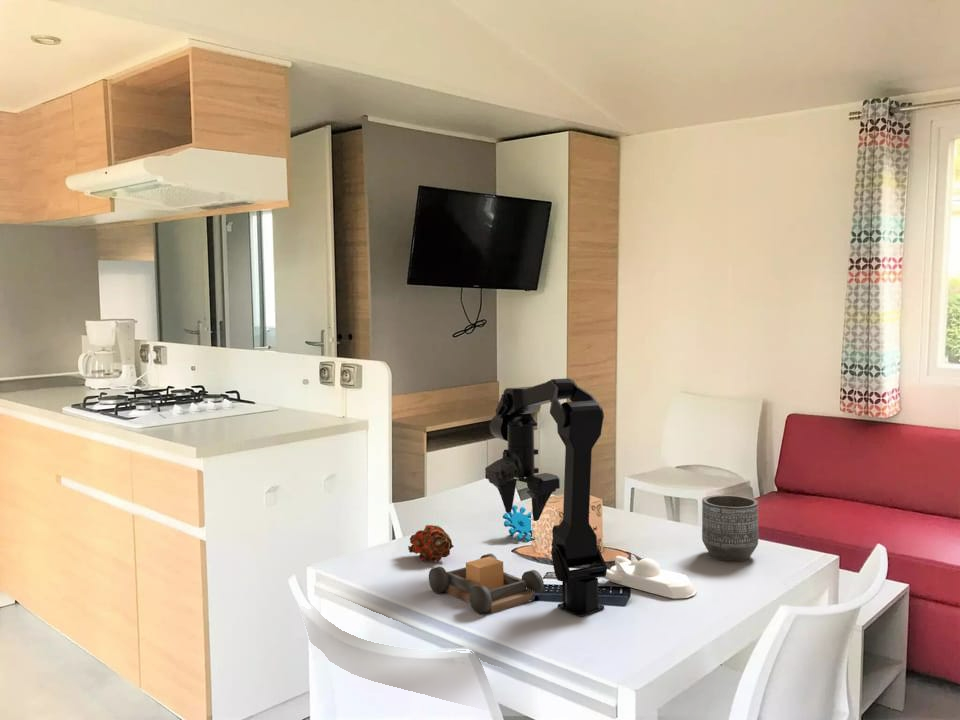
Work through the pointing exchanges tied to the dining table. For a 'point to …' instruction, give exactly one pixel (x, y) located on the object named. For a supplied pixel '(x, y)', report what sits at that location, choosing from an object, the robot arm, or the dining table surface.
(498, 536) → the dining table surface
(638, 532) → the dining table surface
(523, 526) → the gear
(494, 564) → the light orange rectangular block
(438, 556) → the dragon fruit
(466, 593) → the chassis
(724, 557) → the planter
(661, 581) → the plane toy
